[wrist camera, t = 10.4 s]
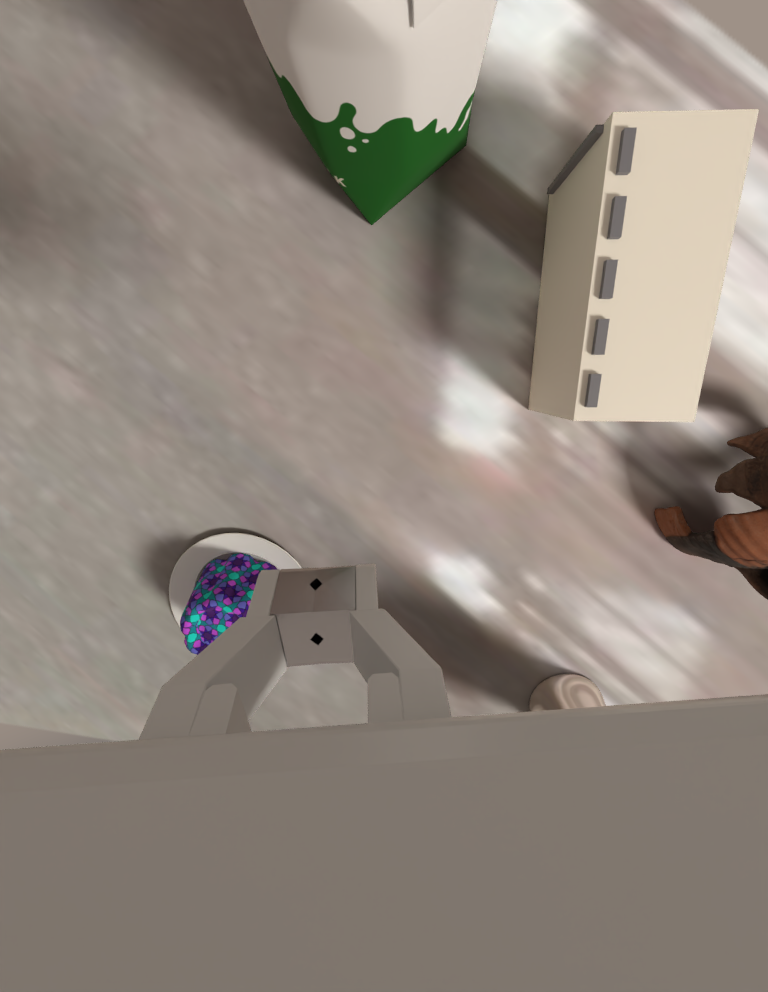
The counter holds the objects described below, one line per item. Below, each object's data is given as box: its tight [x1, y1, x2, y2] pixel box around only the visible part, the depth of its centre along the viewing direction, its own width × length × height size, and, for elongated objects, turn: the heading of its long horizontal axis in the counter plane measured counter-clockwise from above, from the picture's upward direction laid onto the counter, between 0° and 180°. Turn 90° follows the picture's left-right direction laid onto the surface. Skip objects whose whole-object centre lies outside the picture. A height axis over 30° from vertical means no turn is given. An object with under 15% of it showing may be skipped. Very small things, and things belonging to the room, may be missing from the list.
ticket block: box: [528, 109, 759, 422], centre depth 23 cm, size 6×13×8 cm, turn 0°
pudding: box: [169, 533, 301, 655], centre depth 32 cm, size 12×12×5 cm
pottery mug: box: [654, 428, 768, 599], centre depth 28 cm, size 12×10×8 cm
